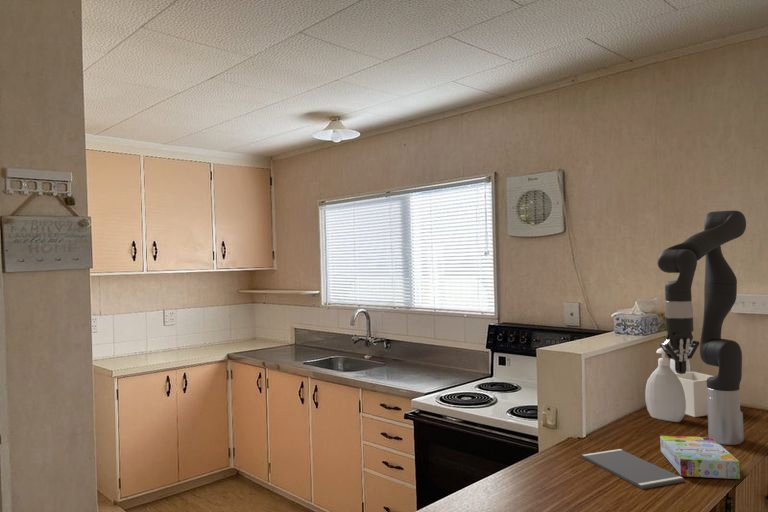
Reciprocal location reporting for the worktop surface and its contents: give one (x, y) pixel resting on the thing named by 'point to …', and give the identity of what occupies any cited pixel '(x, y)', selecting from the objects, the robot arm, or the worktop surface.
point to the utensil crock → (695, 392)
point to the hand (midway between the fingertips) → (680, 373)
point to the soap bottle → (665, 392)
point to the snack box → (699, 457)
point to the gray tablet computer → (632, 468)
